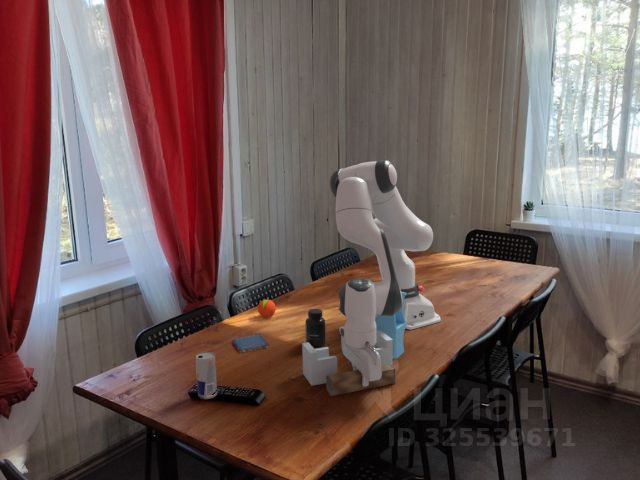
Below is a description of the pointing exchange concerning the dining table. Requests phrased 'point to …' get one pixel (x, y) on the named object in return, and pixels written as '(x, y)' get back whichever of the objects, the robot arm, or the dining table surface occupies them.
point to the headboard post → (384, 348)
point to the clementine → (266, 308)
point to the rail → (357, 381)
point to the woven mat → (250, 343)
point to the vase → (393, 329)
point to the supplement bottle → (315, 328)
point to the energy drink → (206, 375)
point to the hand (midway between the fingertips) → (361, 381)
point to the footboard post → (317, 364)
